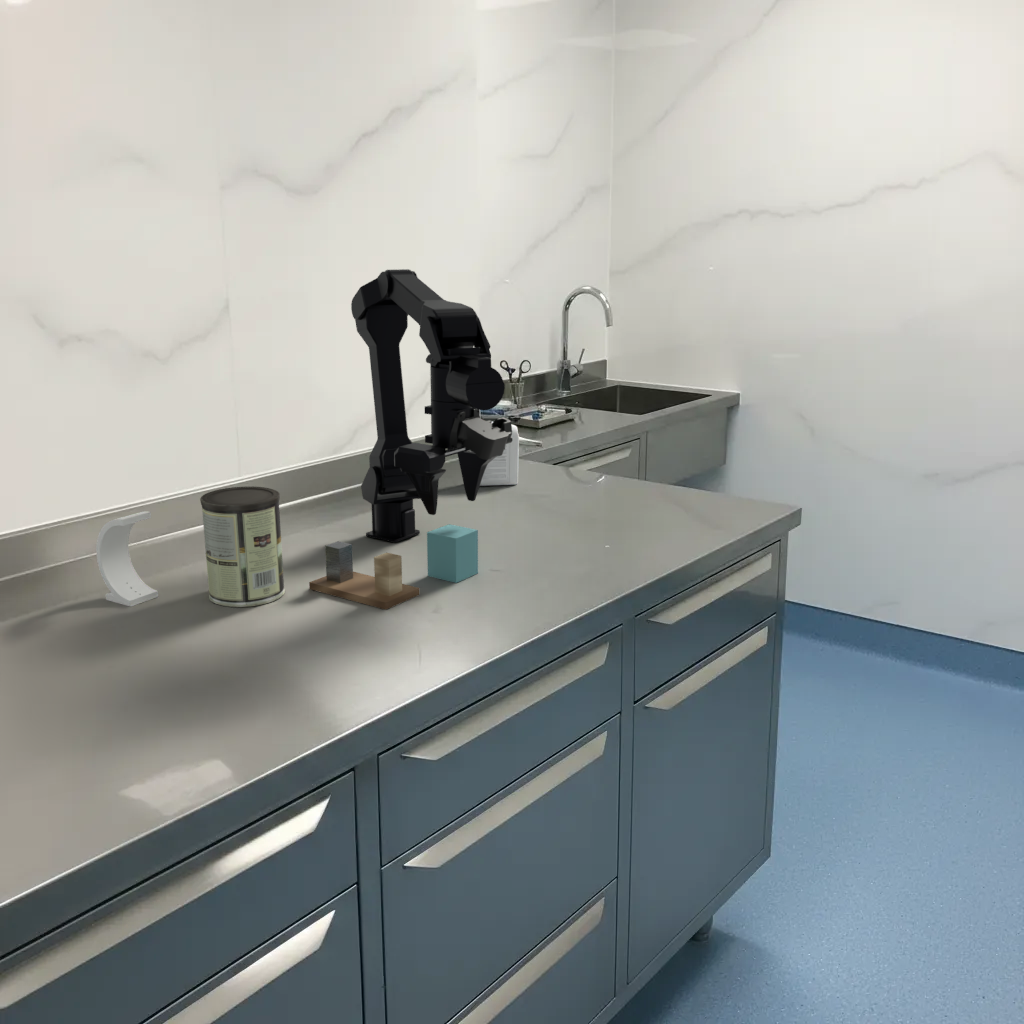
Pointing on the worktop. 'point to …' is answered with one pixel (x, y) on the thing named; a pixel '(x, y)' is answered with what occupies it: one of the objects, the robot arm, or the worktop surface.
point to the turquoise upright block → (452, 553)
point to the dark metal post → (339, 562)
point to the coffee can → (243, 546)
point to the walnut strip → (363, 591)
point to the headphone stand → (121, 562)
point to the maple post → (388, 574)
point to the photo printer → (504, 464)
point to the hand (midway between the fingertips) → (452, 507)
